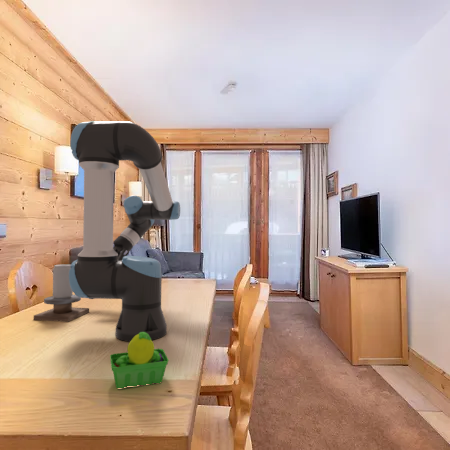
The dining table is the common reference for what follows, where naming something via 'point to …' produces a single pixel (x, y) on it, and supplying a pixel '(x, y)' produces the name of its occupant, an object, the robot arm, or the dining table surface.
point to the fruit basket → (139, 363)
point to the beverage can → (61, 282)
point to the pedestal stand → (61, 310)
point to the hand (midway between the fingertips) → (90, 281)
